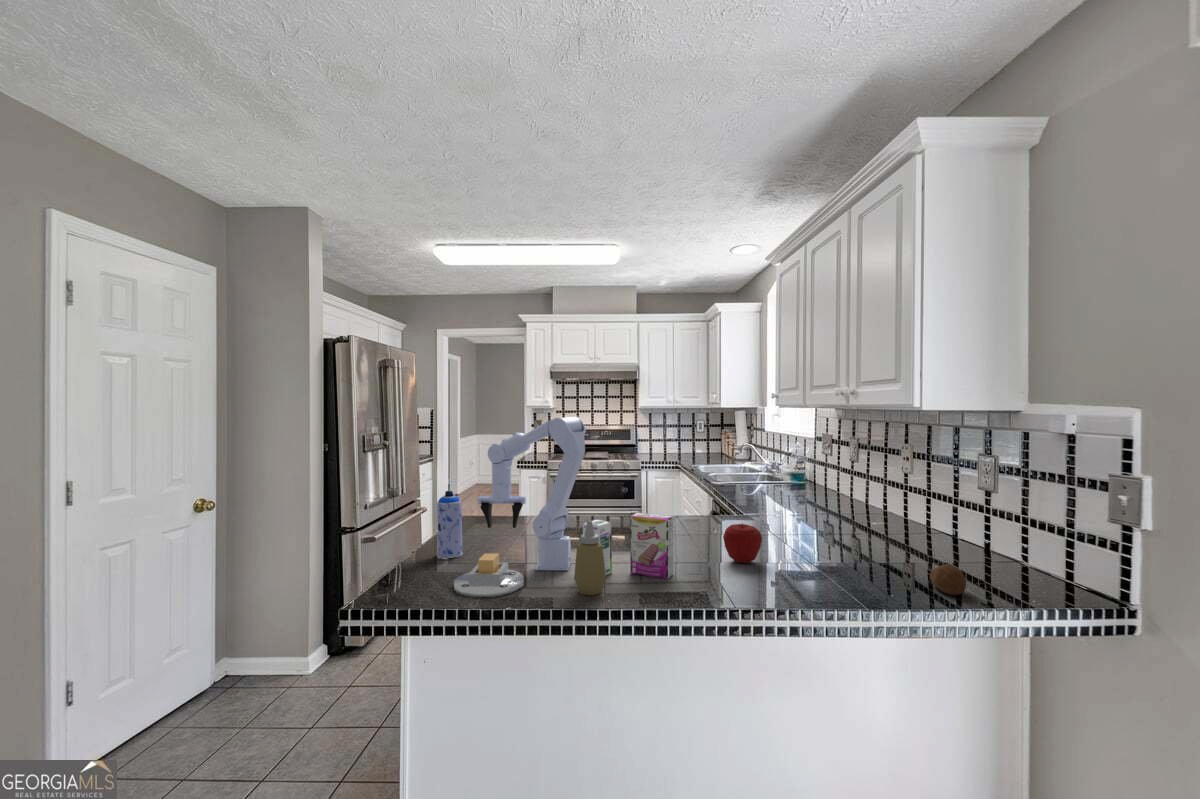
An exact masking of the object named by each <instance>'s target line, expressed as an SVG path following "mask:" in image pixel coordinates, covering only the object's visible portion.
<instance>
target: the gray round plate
mask: <svg viewBox="0 0 1200 799" xmlns="http://www.w3.org/2000/svg"><path fill="white" fill-rule="evenodd" d="M524 580H525V579H524V575H523V574H522V573H521V572H519V571H517V570H513V569H509V562H505V561H504V562H500V561H499V570H498V571H497V572H496V573H478V563H477V564H476V565H475V566H474V568H473V569H472V570H471V571H468V572H466V573H463V574H461V575H459V576H457V577H456V578H455V579H454V581H453V590H454V591H456V593H457V594H458V593H459V594H458V595H460V594H461V595H460V596H463V595H464V596H463V597H467V596H469V597H468V598H475V597H487V598H497V597H501V596H505V595H506V594H507V595H509V593H510V594H513V593H515V592H517V591H518V589H519V588H520V589H521V588H523V586H524V584H525V581H524ZM520 589H519V590H520ZM516 590H517V591H516ZM514 591H515V592H514ZM512 592H513V593H512ZM496 596H497V597H496Z"/></svg>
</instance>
